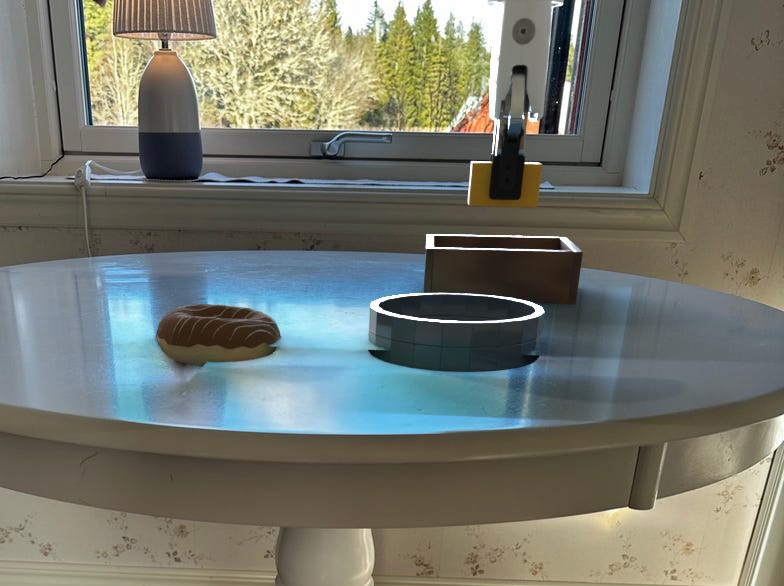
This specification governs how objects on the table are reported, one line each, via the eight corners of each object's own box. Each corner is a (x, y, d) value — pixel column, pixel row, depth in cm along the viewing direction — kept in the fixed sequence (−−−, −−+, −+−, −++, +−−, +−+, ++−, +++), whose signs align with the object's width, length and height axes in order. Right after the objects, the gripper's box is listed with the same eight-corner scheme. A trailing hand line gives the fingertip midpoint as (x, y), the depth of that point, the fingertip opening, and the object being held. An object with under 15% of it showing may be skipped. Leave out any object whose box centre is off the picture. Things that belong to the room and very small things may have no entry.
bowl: (529, 346, 88) (535, 295, 86) (545, 384, 75) (553, 325, 73) (372, 341, 89) (375, 290, 87) (363, 378, 77) (365, 319, 74)
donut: (152, 347, 86) (149, 301, 84) (268, 343, 88) (267, 298, 86) (162, 375, 77) (159, 323, 75) (291, 370, 79) (291, 319, 77)
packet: (533, 204, 102) (538, 162, 100) (537, 207, 98) (542, 164, 96) (467, 202, 102) (471, 161, 100) (468, 205, 99) (472, 162, 97)
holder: (558, 300, 110) (566, 237, 107) (573, 322, 98) (583, 251, 95) (422, 296, 112) (426, 234, 109) (421, 317, 100) (426, 248, 97)
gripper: (576, -25, 83) (547, 205, 92) (555, -4, 98) (531, 193, 107) (489, -25, 84) (469, 203, 93) (481, -4, 99) (464, 191, 108)
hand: (503, 195), depth 100 cm, fingers closed on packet, 4 cm apart
